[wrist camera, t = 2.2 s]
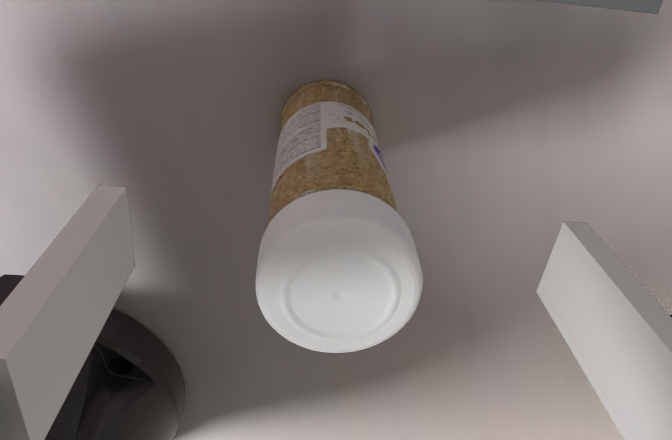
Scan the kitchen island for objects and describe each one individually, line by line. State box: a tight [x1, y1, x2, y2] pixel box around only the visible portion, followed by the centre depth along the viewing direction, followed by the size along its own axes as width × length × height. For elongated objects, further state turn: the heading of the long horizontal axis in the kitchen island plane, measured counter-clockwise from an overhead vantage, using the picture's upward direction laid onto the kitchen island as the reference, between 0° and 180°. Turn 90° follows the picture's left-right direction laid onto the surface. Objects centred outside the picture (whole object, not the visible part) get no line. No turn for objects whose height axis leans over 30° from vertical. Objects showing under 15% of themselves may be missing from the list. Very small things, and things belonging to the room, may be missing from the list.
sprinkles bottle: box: [255, 80, 423, 353], centre depth 19 cm, size 5×5×13 cm
